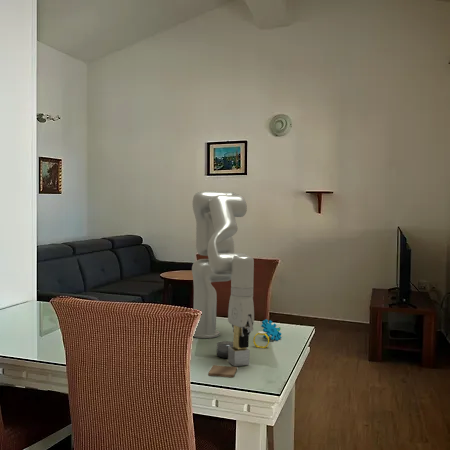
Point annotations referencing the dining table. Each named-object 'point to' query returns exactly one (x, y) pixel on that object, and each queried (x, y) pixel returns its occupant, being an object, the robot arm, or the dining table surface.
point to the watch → (261, 334)
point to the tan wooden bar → (237, 338)
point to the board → (222, 371)
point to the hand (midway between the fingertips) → (240, 345)
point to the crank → (232, 353)
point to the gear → (271, 330)
